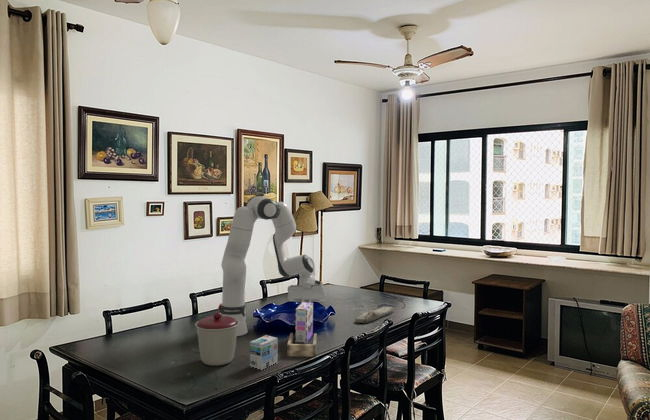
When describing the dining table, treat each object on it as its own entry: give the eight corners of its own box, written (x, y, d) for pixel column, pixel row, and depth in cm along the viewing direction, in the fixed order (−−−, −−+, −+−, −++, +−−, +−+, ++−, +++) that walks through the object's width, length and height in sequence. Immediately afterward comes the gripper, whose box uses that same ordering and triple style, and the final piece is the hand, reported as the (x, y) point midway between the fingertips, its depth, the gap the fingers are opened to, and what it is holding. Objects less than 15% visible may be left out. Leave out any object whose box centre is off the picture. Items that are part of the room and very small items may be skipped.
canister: (198, 372, 189) (198, 320, 187) (192, 357, 205) (192, 308, 204) (243, 366, 196) (244, 315, 195) (234, 351, 212) (234, 305, 211)
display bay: (287, 356, 208) (287, 344, 207) (290, 343, 224) (290, 332, 224) (315, 356, 208) (315, 345, 207) (316, 343, 224) (316, 333, 224)
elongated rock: (397, 314, 282) (383, 312, 288) (397, 305, 282) (383, 304, 288) (366, 325, 254) (350, 322, 260) (366, 315, 254) (350, 312, 260)
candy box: (306, 343, 224) (307, 309, 223) (294, 342, 225) (294, 308, 224) (313, 334, 237) (313, 302, 237) (301, 334, 239) (302, 301, 238)
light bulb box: (261, 371, 191) (262, 344, 191) (249, 367, 195) (249, 341, 194) (278, 362, 200) (278, 337, 200) (265, 359, 204) (265, 334, 203)
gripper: (287, 281, 256) (286, 304, 247) (325, 282, 256) (325, 304, 247) (288, 288, 261) (286, 310, 252) (325, 288, 261) (325, 310, 252)
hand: (306, 307), depth 249 cm, fingers closed
